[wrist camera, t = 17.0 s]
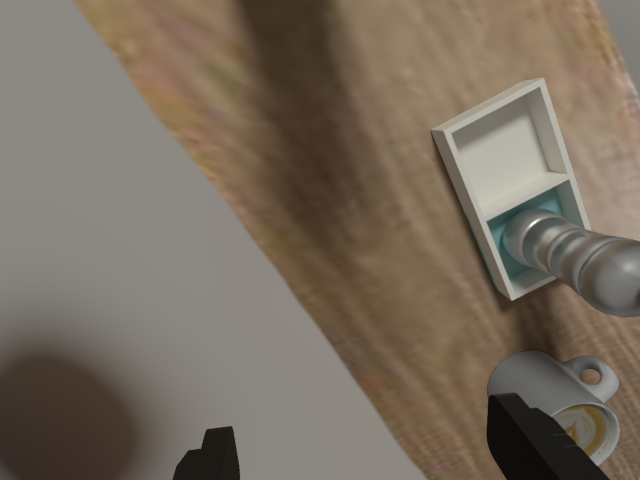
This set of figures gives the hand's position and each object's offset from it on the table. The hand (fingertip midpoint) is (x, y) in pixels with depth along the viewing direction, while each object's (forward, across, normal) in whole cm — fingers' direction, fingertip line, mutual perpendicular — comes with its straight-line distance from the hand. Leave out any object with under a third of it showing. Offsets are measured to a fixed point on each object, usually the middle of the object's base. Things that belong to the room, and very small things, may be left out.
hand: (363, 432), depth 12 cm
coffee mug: (+33, -28, +25) cm, 50 cm away
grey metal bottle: (+33, -25, +5) cm, 41 cm away
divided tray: (+33, -23, 0) cm, 40 cm away
